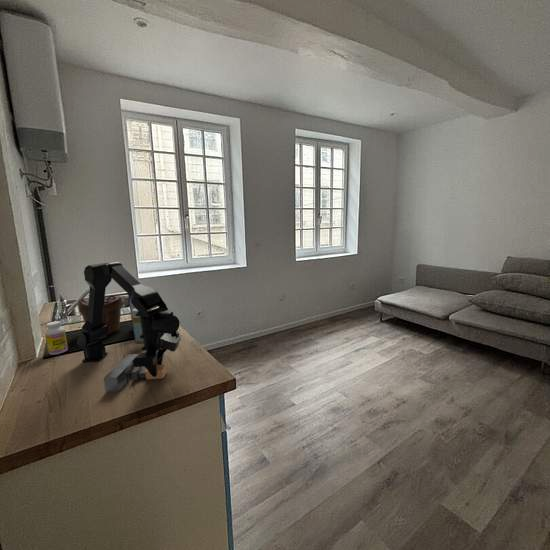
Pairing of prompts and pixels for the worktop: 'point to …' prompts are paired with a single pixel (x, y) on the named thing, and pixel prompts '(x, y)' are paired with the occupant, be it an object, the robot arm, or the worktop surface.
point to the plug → (139, 373)
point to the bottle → (137, 327)
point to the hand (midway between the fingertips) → (157, 373)
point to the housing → (119, 374)
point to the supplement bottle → (56, 338)
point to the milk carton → (131, 309)
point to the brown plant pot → (105, 311)
